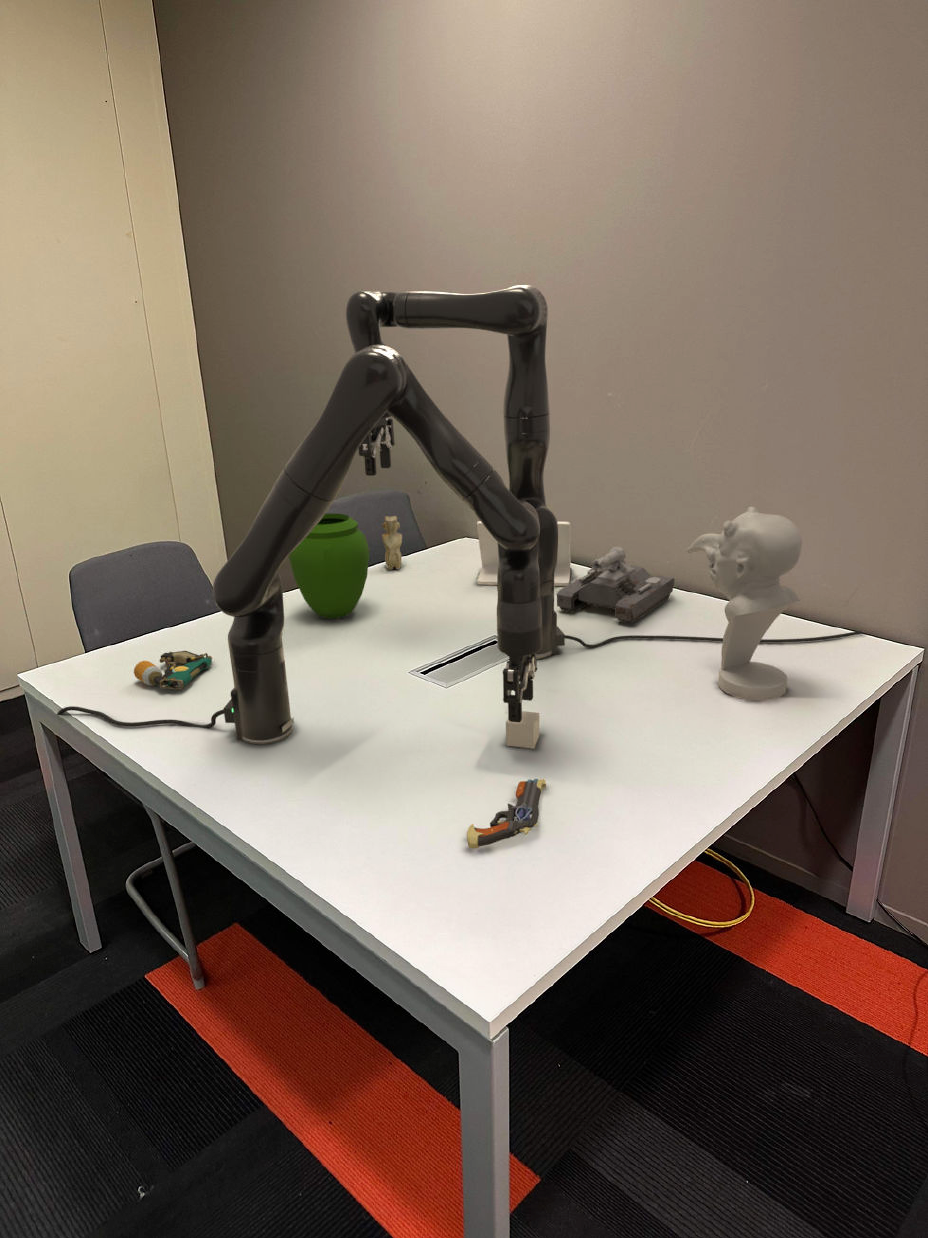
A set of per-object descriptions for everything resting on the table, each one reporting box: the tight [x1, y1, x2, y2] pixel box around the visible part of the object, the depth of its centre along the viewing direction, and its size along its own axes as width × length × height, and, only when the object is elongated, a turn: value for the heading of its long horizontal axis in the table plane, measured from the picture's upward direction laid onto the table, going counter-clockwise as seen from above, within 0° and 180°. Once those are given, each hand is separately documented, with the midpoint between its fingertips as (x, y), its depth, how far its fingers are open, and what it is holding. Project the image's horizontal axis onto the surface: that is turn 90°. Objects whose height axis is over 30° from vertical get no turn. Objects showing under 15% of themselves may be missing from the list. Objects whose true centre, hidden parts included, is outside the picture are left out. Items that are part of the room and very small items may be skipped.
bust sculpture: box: [686, 506, 803, 701], centre depth 166 cm, size 16×24×35 cm, turn 28°
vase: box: [288, 512, 370, 620], centre depth 209 cm, size 20×20×24 cm
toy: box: [556, 546, 676, 624], centre depth 212 cm, size 25×20×15 cm
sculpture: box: [381, 515, 403, 570], centre depth 247 cm, size 6×7×15 cm
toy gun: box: [466, 778, 547, 850], centre depth 128 cm, size 3×19×10 cm
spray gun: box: [133, 650, 213, 690], centre depth 180 cm, size 4×17×15 cm
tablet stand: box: [476, 520, 572, 587], centre depth 236 cm, size 18×25×17 cm
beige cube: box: [505, 710, 541, 750], centre depth 150 cm, size 5×5×5 cm
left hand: (521, 710), depth 147 cm, fingers open, 8 cm apart
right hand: (378, 471), depth 183 cm, fingers open, 8 cm apart
